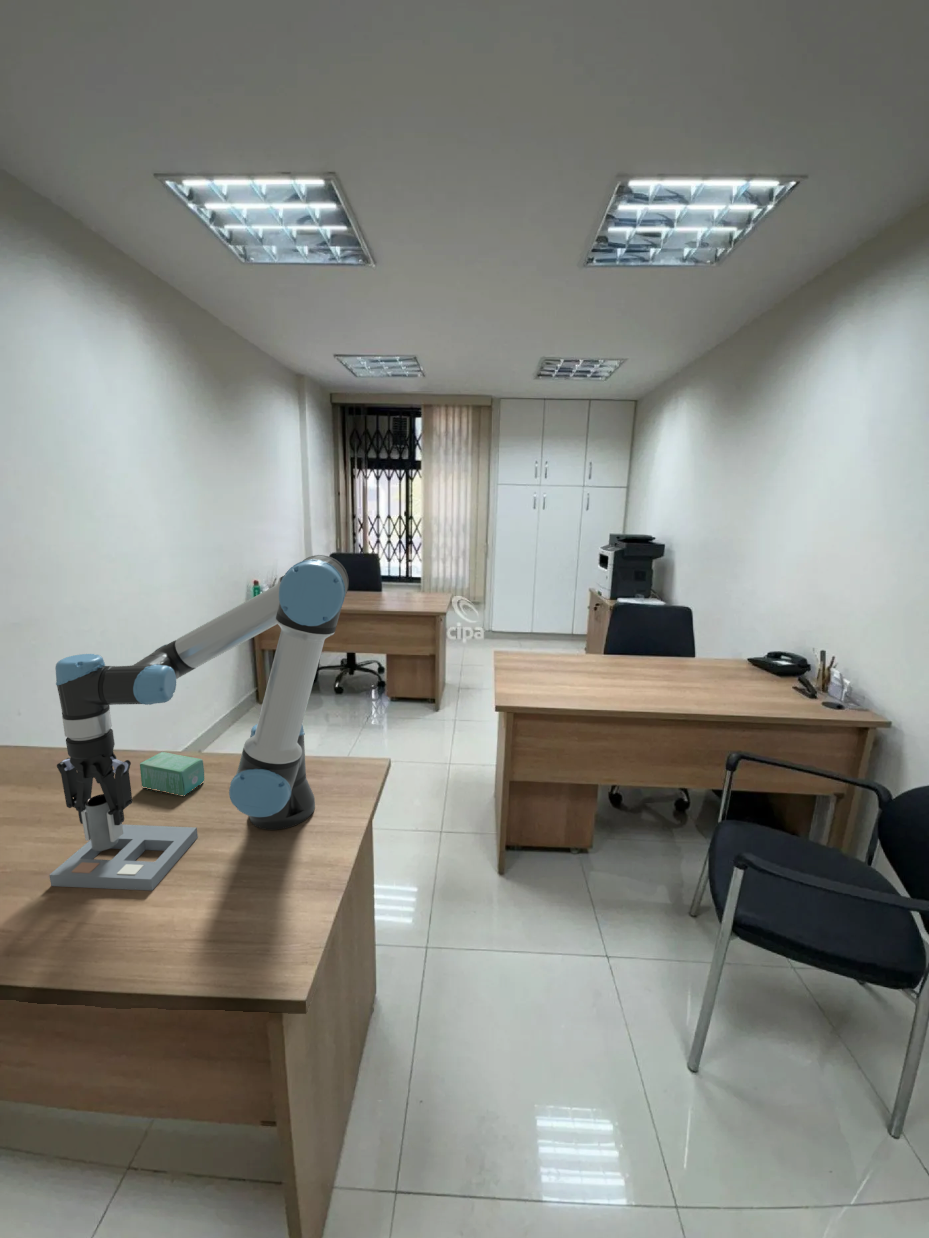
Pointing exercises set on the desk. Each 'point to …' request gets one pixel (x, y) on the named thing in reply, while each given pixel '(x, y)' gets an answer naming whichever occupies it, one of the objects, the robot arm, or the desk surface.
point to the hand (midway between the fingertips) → (104, 836)
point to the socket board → (127, 859)
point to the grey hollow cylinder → (98, 823)
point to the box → (172, 773)
